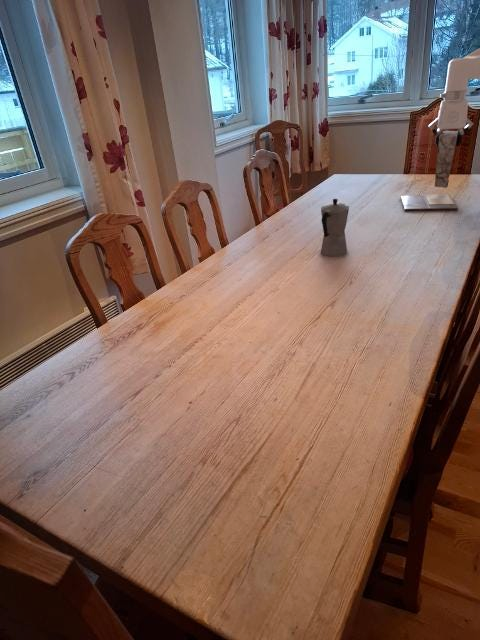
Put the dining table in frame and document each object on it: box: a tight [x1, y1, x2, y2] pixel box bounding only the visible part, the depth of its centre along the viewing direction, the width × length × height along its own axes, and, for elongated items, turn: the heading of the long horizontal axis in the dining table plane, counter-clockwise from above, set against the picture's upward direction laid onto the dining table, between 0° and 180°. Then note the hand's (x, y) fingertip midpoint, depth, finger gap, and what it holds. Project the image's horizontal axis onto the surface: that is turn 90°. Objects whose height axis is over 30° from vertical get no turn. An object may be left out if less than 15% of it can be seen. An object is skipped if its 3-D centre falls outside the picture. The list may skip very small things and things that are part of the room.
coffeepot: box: [320, 198, 350, 257], centre depth 141 cm, size 15×9×18 cm, turn 145°
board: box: [400, 193, 459, 212], centre depth 182 cm, size 20×20×1 cm
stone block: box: [434, 130, 459, 189], centre depth 174 cm, size 13×7×20 cm, turn 159°
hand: (447, 145), depth 172 cm, fingers closed on stone block, 6 cm apart
